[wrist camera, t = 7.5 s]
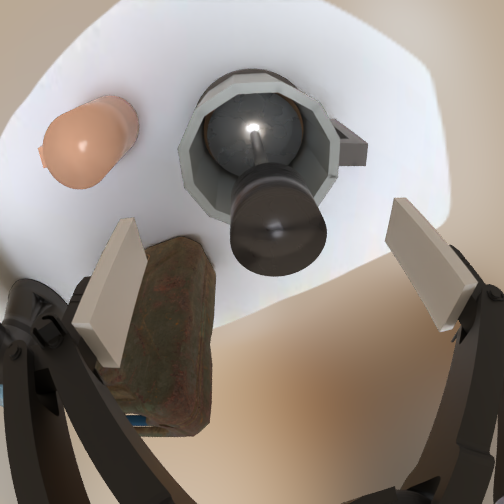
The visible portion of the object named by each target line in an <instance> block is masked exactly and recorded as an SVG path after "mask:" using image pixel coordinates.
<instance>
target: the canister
mask: <svg viewBox="0 0 504 504" xmlns="http://www.w3.org/2000/svg"><path fill="white" fill-rule="evenodd" d="M144 252H145V255H146V258H147V261H148V262H147V265H146V268H145V272H144V275H143V278H142V282H141V285H140V289H139V292H138V296H137V299H136V303H135V307H134V310H133V314H132V318H131V322H130V326H129V330H128V334H127V338H126V342H125V346H124V350H123V355H122V359H121V364H120V368H111V367H103V366H102V365H101V364H100V362H99V361H98V360H97V361H96V365H95V368H96V369H97V370H98V372H99V374H100V375H101V377H102V379H103V381H104V382H105V384H106V386H107V387H108V389H109V391H110V392H111V394H112V395H113V397H114V399H115V400H116V402H117V403H118V405H119V407H120V408H121V410H122V411H123V413H124V414H127V413H129V414H130V413H133V414H138V415H125V416H126V417H127V419H128V420H129V422H130V423H131V424H132V426H153V427H134V429H135V430H136V431H137V433H138V434H139V436H142V437H186V436H195V435H196V434H198V433H199V432H200V431H201V430H202V429H203V428H205V427H206V426H207V425H208V424H209V423H210V414H211V404H212V358H211V349H210V340H211V335H212V328H213V320H214V306H215V286H216V274H215V271H214V270H213V268H212V266H211V264H210V262H209V260H208V258H207V257H206V256H205V253H204V251H203V249H202V246H201V245H200V244H199V243H197V242H195V241H193V240H191V239H188V238H185V237H177V238H174V239H171V240H168V241H166V242H163V243H160V244H157V245H154V246H152V247H149V248H147V249H146V250H144Z"/></svg>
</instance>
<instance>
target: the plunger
mask: <svg viewBox="0 0 504 504" xmlns="http://www.w3.org/2000/svg"><path fill="white" fill-rule="evenodd" d="M207 140H208V146H209V149H210V151H211V153H212V155H213V157H214V158H215V160H216V161H217V162H218V163H219V164H220V165H221V166H222V167H223V168H224V169H226V170H227V171H229V172H231V173H233V174H235V175H238V176H239V178H238V179H237V180H236V182H235V184H234V186H233V188H232V192H231V213H230V244H231V249H232V252H233V254H234V256H235V258H236V259H237V260H238V262H239V263H240V264H241V265H242V266H244V267H245V268H246V269H248V270H250V271H252V272H254V273H256V274H260V275H264V276H273V277H274V276H285V275H290V274H293V273H296V272H298V271H300V270H302V269H304V268H306V267H307V266H309V265H310V264H311V263H312V262H313V261H315V260H316V258H317V257H318V256H319V255H320V253H321V252H322V250H323V248H324V245H325V242H326V237H327V229H326V224H325V221H324V219H323V217H322V215H321V213H320V210H319V208H318V206H317V204H316V202H315V200H314V198H313V196H312V194H311V192H310V190H309V188H308V186H307V184H306V182H305V180H304V179H303V177H302V176H301V175H300V174H299V173H298V172H297V171H296V170H295V169H293V168H291V167H290V166H287V165H288V164H289V163H290V162H291V161H292V160H293V159H294V157H295V156H296V154H297V152H298V150H299V147H300V144H301V140H302V128H301V123H300V120H299V117H298V115H297V113H296V111H295V110H294V109H293V107H292V106H291V105H290V104H289V103H288V102H287V101H286V100H285V99H283V98H282V97H280V96H279V95H277V94H275V93H251V94H237V95H236V96H234V97H233V98H231V99H229V100H228V101H226V102H225V103H223V104H222V105H220V106H219V107H217V108H216V109H215V110H214V112H213V114H212V116H211V118H210V121H209V124H208V129H207Z"/></svg>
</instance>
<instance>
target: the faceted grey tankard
mask: <svg viewBox="0 0 504 504" xmlns="http://www.w3.org/2000/svg"><path fill="white" fill-rule="evenodd" d="M251 93H275V94H277V95H279V96H280V97H282V98H283V99H285V100H286V101H287V102H288V103H289V104H290V105H291V106H292V107H293V109H294V110H295V111H296V113H297V115H298V117H299V120H300V123H301V128H302V140H301V144H300V147H299V150H298V152H297V154H296V156H295V157H294V159H293V160H292V161H291V162H290V163H289V164H288V165H287V166H290V167H291V168H293V169H295V170H296V171H297V172H298V173H299V174H300V175H301V176H302V177H303V179H304V180H305V182H306V184H307V186H308V188H309V190H310V192H311V194H312V196H313V198H314V200H315V202H316V204H317V206H319V205H320V203H321V202H322V200H323V199H324V197H325V196H326V194H327V193H328V191H329V190H330V188H331V187H332V185H333V184H334V182H335V181H336V179H337V178H338V167H339V166H366V159H367V149H368V143H367V142H365V141H364V140H363V139H361V138H360V137H359V136H358V135H356V134H355V133H354V132H352V131H351V130H350V129H348V128H347V127H346V126H344V125H343V124H341V123H340V122H339V121H337V120H336V119H329V117H328V115H327V114H326V112H325V110H324V108H323V107H322V105H321V103H320V102H318V101H317V100H315V99H313V98H312V97H310V96H308V95H306V94H305V93H303V92H301V91H299V90H298V89H297V88H296V87H295V86H294V85H293V84H292V83H291V82H290V81H288V80H287V79H285V78H284V77H282V76H280V75H278V74H275V73H273V72H270V71H267V70H262V69H242V70H237V71H234V72H231V73H228V74H226V75H224V76H222V77H221V78H219V79H218V80H216V81H215V82H214V83H212V84H211V85H210V86H209V87H208V88H207V90H206V91H205V92H204V93H203V95H202V96H201V98H200V100H199V102H198V104H197V106H196V109H195V111H194V113H193V115H192V117H191V119H190V122H189V124H188V126H187V128H186V131H185V133H184V135H183V138H182V140H181V142H180V145H179V147H178V153H179V159H180V166H181V172H182V178H183V183H184V188H185V189H186V190H187V191H188V193H189V194H190V195H191V196H192V197H193V198H194V200H195V201H196V202H197V203H198V204H199V205H200V206H201V208H202V209H203V210H204V211H205V212H206V213H207V215H208V216H209V217H212V218H214V219H217V220H220V221H222V222H225V223H227V224H230V213H231V192H232V188H233V186H234V184H235V182H236V180H237V179H238V178H239V176H238V175H235V174H233V173H231V172H229V171H227V170H226V169H224V168H223V167H222V166H221V165H220V164H219V163H218V162H217V161H216V160H215V158H214V157H213V155H212V153H211V151H210V149H209V146H208V140H207V129H208V124H209V121H210V118H211V116H212V114H213V112H214V110H215V109H216V108H217V107H219V106H220V105H222V104H223V103H225V102H226V101H228V100H229V99H231V98H233V97H234V96H236V95H237V94H251Z"/></svg>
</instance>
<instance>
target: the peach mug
mask: <svg viewBox="0 0 504 504" xmlns="http://www.w3.org/2000/svg"><path fill="white" fill-rule="evenodd" d="M138 132H139V120H138V116H137V114H136V112H135V110H134V108H133V107H132V106H131V105H130V103H128V102H127V101H126V100H124V99H123V98H120V97H117V96H103V97H100V98H97V99H95V100H93V101H90V102H88V103H86V104H83V105H81V106H79V107H77V108H75V109H73V110H70V111H68V112H66V113H64V114H62V115H60V116H59V117H57V118H56V119H55V120H54V121H53V122H52V123H51V124H50V126H49V127H48V129H47V131H46V133H45V136H44V140H43V145H42V146H40V147H39V148H38V150H39V154H40V157H41V161H42V164H43V168H46V167H47V168H48V170H49V172H50V173H51V174H52V176H53V177H54V178H55V179H56V180H57V181H58V182H60V183H61V184H63V185H65V186H67V187H69V188H73V189H86V188H90V187H92V186H94V185H96V184H98V183H99V182H100V181H101V180H102V179H103V178H104V177H105V175H106V174H107V173H108V172H109V171H110V170H111V169H112V168H113V167H114V165H115V164H116V163H117V162H118V161H119V160H120V159H121V158H122V157H123V156H124V155H125V154H126V153H127V152H128V150H129V149H130V148H131V147H132V146H133V145H134V143H135V141H136V139H137V136H138Z"/></svg>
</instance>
